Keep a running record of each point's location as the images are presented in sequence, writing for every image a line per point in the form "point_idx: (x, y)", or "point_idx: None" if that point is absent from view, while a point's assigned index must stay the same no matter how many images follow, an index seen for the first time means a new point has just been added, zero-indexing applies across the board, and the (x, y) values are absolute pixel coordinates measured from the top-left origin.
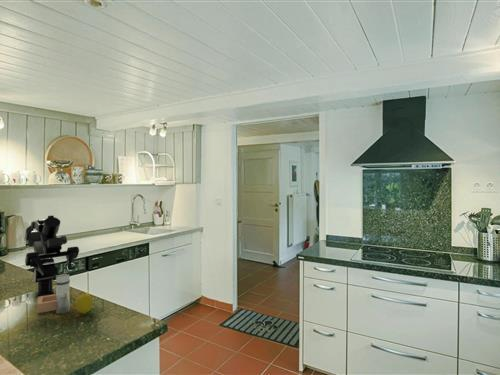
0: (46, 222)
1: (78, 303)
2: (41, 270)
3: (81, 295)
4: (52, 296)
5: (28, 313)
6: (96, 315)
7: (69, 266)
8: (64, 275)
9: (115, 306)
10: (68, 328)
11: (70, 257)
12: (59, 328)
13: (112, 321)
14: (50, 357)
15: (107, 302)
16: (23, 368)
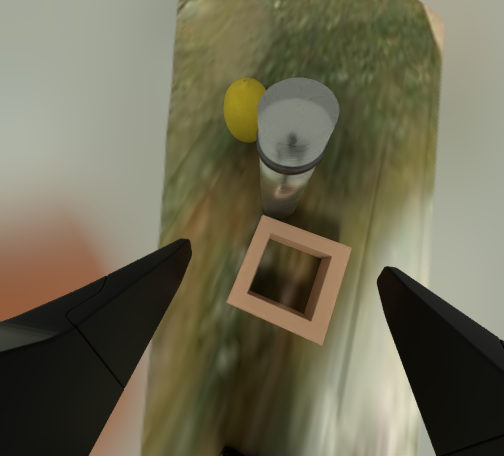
0: None
1: None
2: (434, 294)
3: (255, 85)
4: (277, 306)
5: (358, 276)
6: None
7: (171, 249)
8: (288, 103)
9: (174, 126)
10: None
11: (39, 325)
12: None
13: (232, 56)
14: (375, 8)
15: (167, 168)
16: (418, 5)
